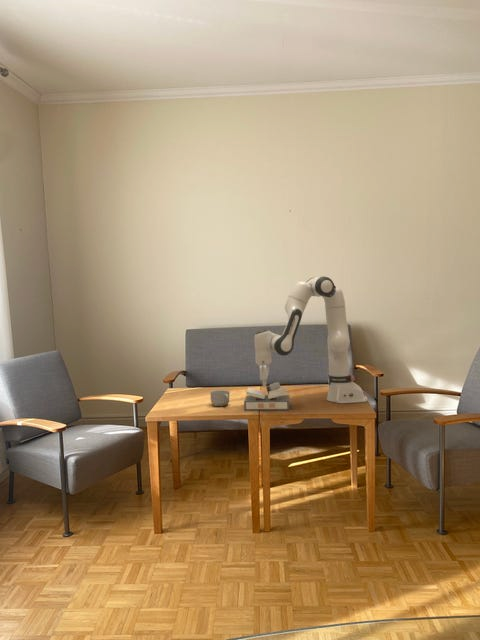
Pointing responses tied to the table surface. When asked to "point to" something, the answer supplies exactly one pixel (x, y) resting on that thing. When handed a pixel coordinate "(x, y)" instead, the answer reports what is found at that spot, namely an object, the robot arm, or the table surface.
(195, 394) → the table surface
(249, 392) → the block
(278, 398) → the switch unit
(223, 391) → the teacup
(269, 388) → the electrical switch
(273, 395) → the rocker
